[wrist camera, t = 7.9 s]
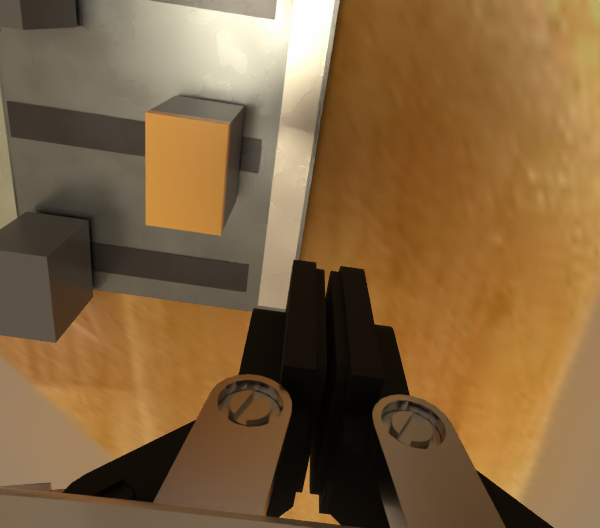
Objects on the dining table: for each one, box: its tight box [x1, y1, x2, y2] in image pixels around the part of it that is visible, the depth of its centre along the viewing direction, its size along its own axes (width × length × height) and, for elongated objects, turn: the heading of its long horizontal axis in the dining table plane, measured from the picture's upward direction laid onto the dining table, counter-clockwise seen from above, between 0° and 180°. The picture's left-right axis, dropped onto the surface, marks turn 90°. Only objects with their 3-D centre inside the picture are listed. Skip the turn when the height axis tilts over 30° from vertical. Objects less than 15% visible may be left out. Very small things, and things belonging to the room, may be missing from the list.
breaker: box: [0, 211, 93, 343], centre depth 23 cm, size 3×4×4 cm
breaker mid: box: [145, 96, 244, 236], centre depth 20 cm, size 3×4×4 cm
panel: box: [0, 0, 340, 312], centre depth 23 cm, size 16×17×2 cm
